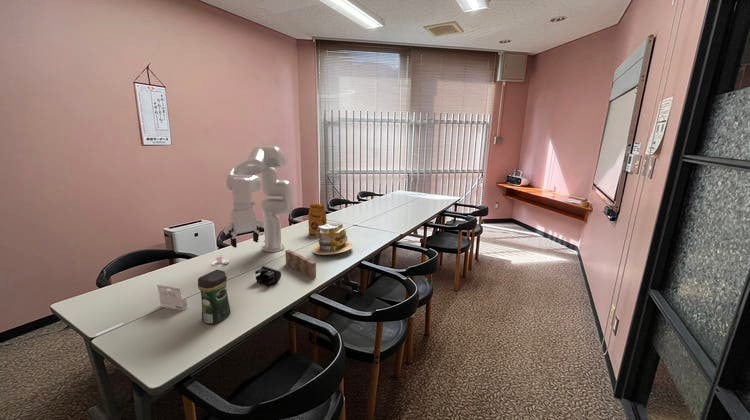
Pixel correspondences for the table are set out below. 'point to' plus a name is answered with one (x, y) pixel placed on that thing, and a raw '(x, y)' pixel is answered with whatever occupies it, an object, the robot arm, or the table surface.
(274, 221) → the robot arm
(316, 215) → the coffee package
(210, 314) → the coffee jar
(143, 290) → the table surface
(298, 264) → the walnut board
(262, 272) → the end cap
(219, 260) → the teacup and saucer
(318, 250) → the stacked tins on plate
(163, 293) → the ink cartridge box
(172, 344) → the table surface
